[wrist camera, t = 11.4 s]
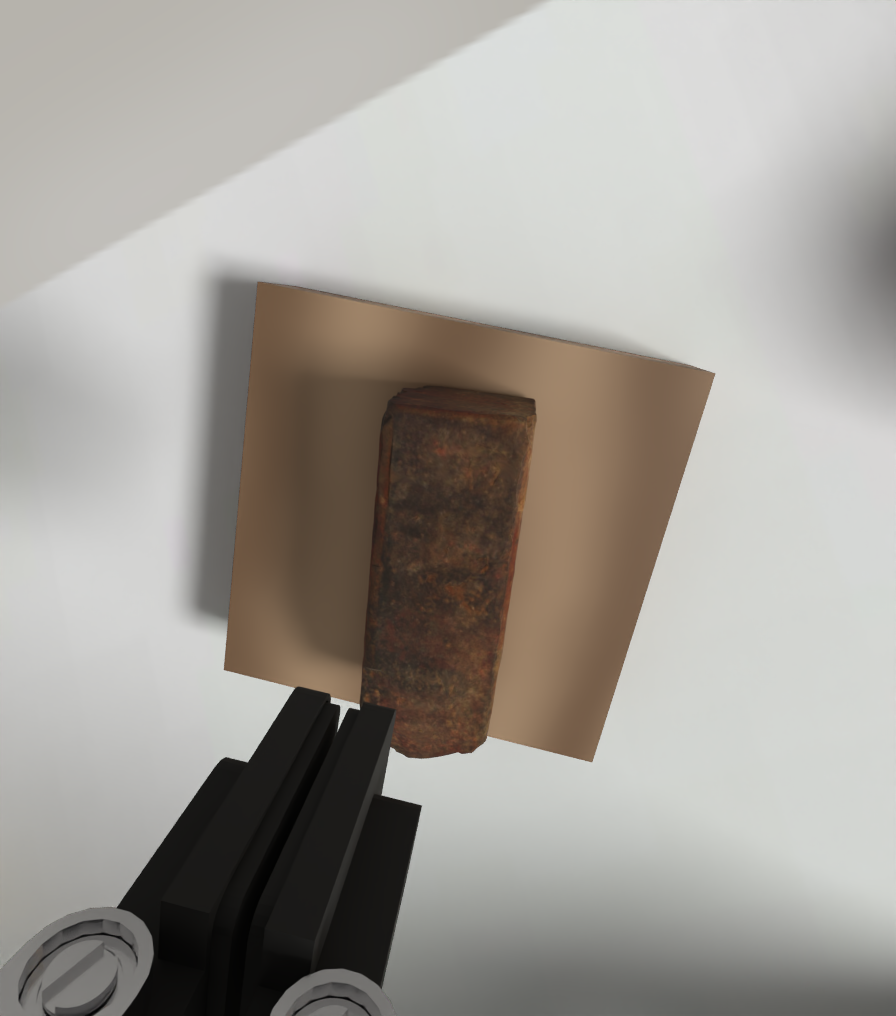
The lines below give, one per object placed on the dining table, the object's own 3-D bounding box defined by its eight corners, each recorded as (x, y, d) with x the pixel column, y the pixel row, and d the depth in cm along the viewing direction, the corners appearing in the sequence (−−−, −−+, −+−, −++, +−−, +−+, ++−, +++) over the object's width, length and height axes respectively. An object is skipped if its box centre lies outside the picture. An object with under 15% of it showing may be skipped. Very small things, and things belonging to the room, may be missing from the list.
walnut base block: (685, 363, 22) (715, 373, 18) (584, 698, 26) (592, 762, 23) (304, 287, 23) (257, 281, 19) (267, 621, 28) (223, 669, 24)
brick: (412, 379, 20) (375, 398, 15) (539, 396, 19) (539, 420, 15) (384, 674, 23) (347, 761, 18) (493, 693, 23) (482, 786, 18)
